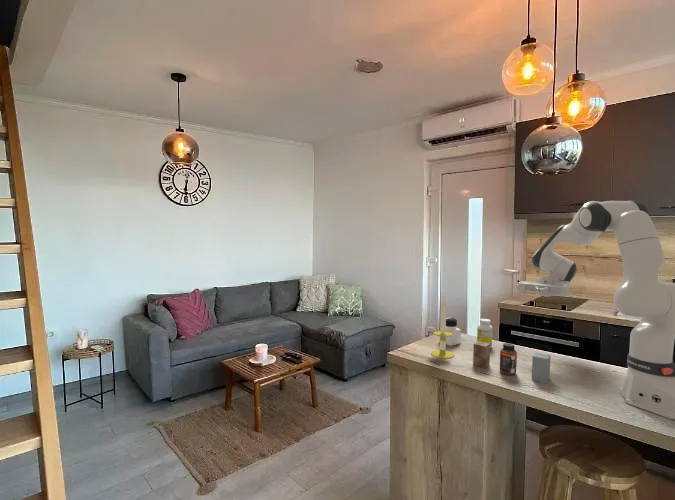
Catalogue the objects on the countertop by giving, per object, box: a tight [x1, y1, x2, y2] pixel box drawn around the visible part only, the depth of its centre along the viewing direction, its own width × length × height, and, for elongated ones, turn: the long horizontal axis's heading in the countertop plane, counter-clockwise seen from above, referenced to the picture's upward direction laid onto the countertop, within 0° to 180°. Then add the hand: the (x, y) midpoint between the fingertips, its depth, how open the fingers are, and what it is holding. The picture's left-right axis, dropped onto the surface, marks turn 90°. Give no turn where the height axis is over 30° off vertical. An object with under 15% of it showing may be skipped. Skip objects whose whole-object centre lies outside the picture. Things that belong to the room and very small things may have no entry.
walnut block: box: [472, 340, 491, 369], centre depth 158 cm, size 5×5×9 cm
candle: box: [430, 295, 455, 360], centre depth 170 cm, size 10×10×27 cm
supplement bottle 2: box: [499, 342, 518, 376], centre depth 150 cm, size 6×6×11 cm
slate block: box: [531, 352, 552, 384], centre depth 144 cm, size 5×5×9 cm
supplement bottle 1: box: [476, 318, 493, 349], centre depth 181 cm, size 7×7×13 cm
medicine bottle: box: [439, 317, 462, 347], centre depth 187 cm, size 7×7×12 cm
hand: (539, 290), depth 161 cm, fingers closed
